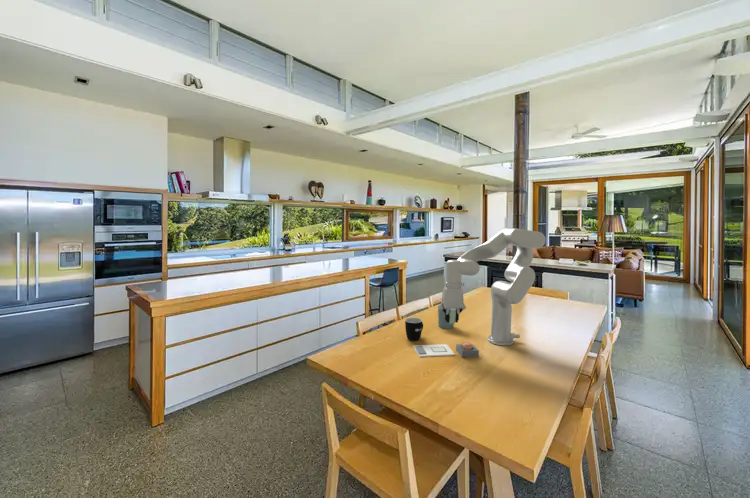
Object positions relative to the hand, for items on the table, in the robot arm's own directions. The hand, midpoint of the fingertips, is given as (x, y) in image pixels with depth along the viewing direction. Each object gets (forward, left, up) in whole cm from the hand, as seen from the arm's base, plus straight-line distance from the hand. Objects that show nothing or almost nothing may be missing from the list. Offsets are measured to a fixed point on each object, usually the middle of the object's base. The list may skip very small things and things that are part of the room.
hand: (451, 321), depth 166 cm
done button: (-5, +9, -11) cm, 15 cm away
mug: (+15, -13, -13) cm, 24 cm away
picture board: (+10, +4, -13) cm, 17 cm away
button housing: (-5, +9, -13) cm, 16 cm away
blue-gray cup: (-7, -29, -13) cm, 33 cm away
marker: (0, 0, -1) cm, 1 cm away
